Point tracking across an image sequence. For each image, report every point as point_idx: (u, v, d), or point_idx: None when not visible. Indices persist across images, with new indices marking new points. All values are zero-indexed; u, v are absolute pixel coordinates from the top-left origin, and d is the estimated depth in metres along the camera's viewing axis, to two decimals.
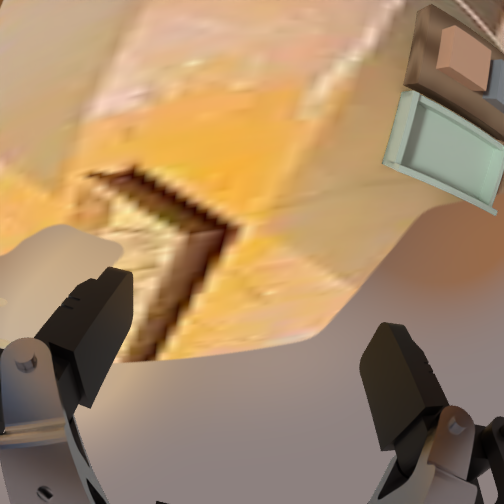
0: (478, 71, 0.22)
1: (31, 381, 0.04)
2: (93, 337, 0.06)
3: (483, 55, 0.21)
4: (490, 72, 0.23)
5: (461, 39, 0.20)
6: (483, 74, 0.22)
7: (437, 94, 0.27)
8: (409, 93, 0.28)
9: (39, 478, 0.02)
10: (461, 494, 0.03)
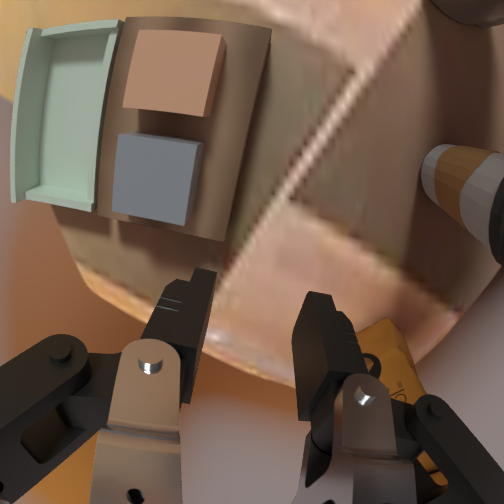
0: (149, 85, 0.17)
1: (167, 382, 0.05)
2: (202, 334, 0.07)
3: (184, 95, 0.18)
4: (177, 138, 0.21)
5: (196, 46, 0.16)
6: (148, 97, 0.18)
7: None
8: (120, 22, 0.19)
9: (135, 481, 0.03)
10: (395, 477, 0.03)
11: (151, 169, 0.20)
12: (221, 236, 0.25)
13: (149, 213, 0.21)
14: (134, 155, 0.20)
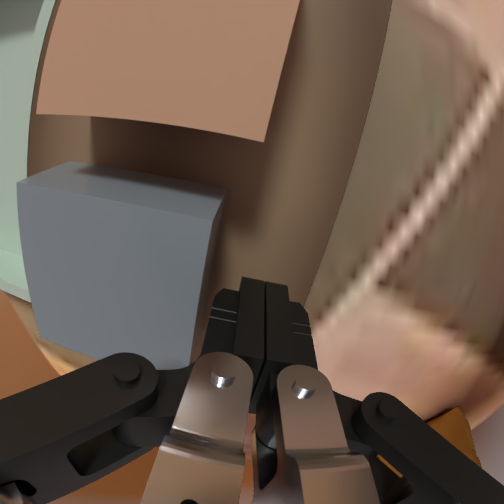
0: (100, 47, 0.05)
1: (245, 395, 0.05)
2: None
3: (204, 72, 0.05)
4: (158, 183, 0.09)
5: None
6: (96, 82, 0.05)
7: None
8: None
9: (193, 492, 0.03)
10: (350, 478, 0.03)
11: (97, 275, 0.08)
12: None
13: None
14: (53, 237, 0.07)
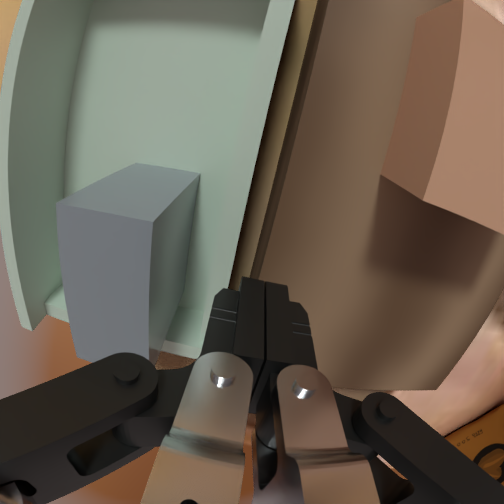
0: (490, 161, 0.06)
1: (245, 395, 0.05)
2: None
3: None
4: (148, 193, 0.09)
5: None
6: (483, 192, 0.06)
7: (323, 14, 0.07)
8: None
9: (193, 492, 0.03)
10: (350, 478, 0.03)
11: None
12: (436, 384, 0.14)
13: None
14: None
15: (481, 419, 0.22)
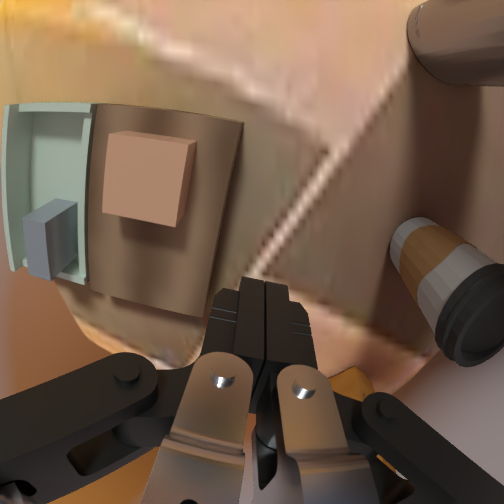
0: (124, 194, 0.20)
1: (245, 395, 0.05)
2: None
3: (157, 206, 0.21)
4: (49, 213, 0.23)
5: (165, 157, 0.19)
6: (124, 206, 0.21)
7: None
8: (94, 103, 0.21)
9: (193, 492, 0.03)
10: (350, 478, 0.03)
11: None
12: (200, 313, 0.28)
13: None
14: None
15: None
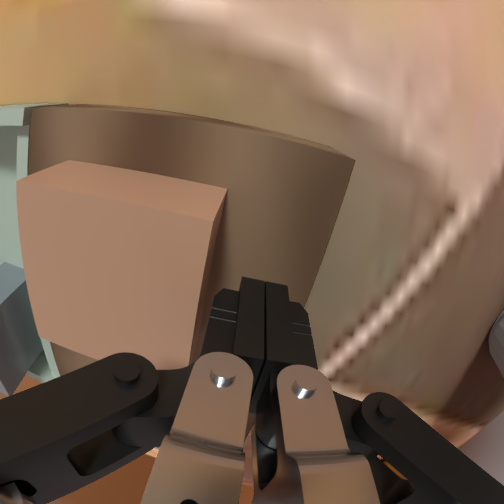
0: (69, 317, 0.08)
1: (245, 395, 0.05)
2: None
3: (142, 350, 0.09)
4: None
5: (148, 250, 0.07)
6: (74, 336, 0.09)
7: None
8: (35, 105, 0.10)
9: (193, 492, 0.03)
10: (350, 478, 0.03)
11: None
12: None
13: None
14: None
15: None
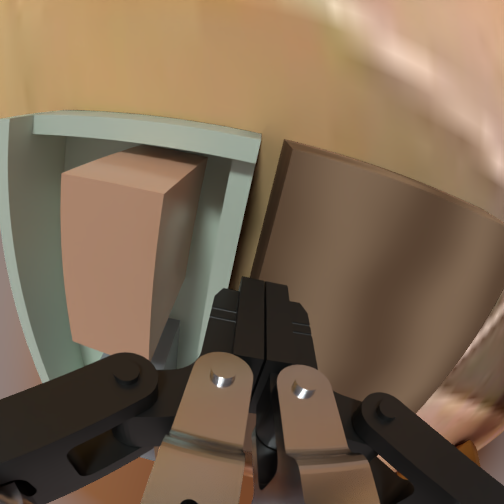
0: None
1: (245, 395, 0.05)
2: None
3: None
4: None
5: None
6: None
7: (268, 236, 0.11)
8: (251, 135, 0.10)
9: (193, 492, 0.03)
10: (350, 478, 0.03)
11: None
12: None
13: None
14: None
15: None
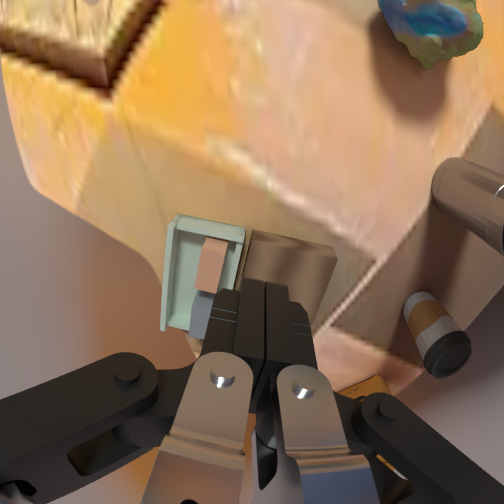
0: None
1: (245, 395, 0.05)
2: None
3: None
4: (208, 300, 0.43)
5: None
6: None
7: (246, 260, 0.41)
8: (242, 233, 0.41)
9: (193, 492, 0.03)
10: (350, 478, 0.03)
11: None
12: None
13: None
14: None
15: None
